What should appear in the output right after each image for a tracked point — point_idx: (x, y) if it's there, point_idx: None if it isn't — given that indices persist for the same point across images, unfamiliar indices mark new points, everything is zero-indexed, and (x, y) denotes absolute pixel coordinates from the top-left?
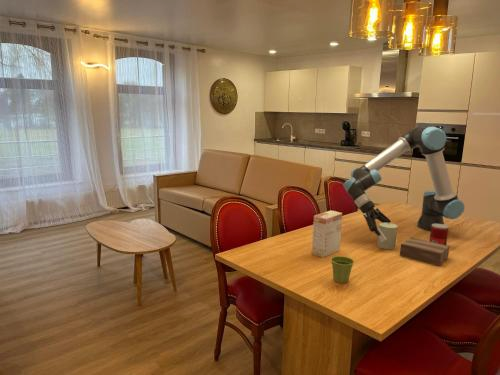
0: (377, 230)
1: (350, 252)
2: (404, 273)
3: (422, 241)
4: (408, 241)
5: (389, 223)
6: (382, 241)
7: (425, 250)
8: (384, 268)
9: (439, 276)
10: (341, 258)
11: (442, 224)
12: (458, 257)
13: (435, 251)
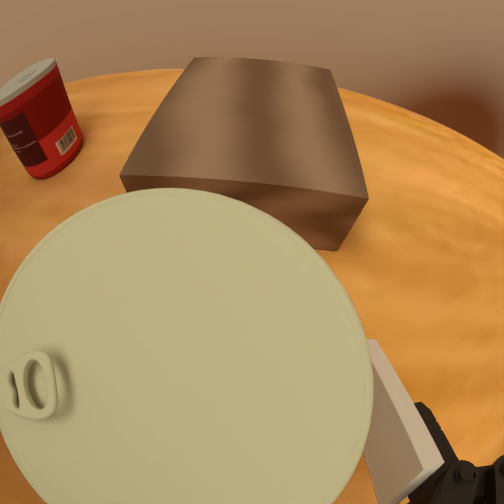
0: (436, 454)
1: None
2: (473, 198)
3: (190, 112)
4: (258, 164)
5: (51, 360)
6: None
7: (339, 100)
8: (500, 262)
9: (398, 120)
10: None
11: (4, 85)
12: None
13: (320, 76)
